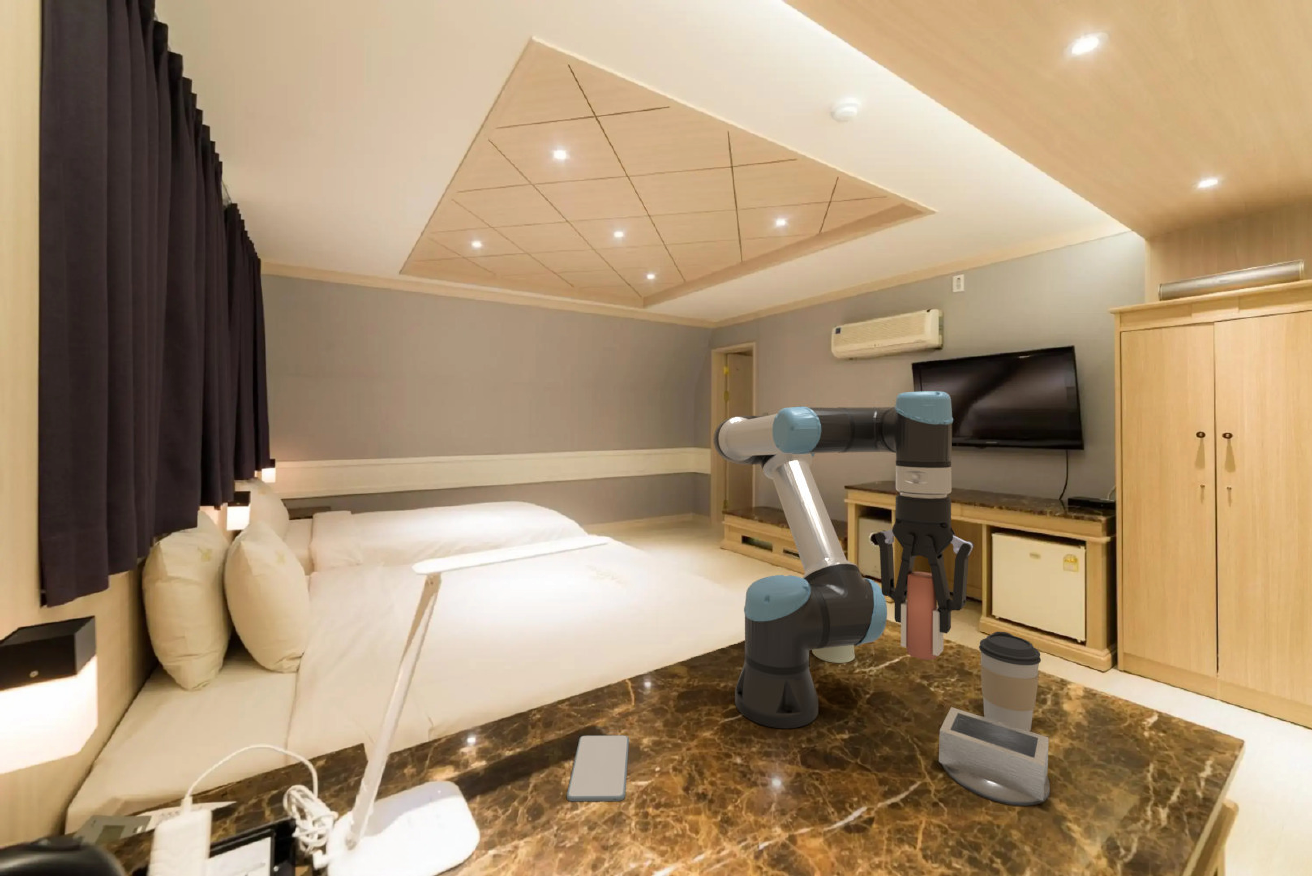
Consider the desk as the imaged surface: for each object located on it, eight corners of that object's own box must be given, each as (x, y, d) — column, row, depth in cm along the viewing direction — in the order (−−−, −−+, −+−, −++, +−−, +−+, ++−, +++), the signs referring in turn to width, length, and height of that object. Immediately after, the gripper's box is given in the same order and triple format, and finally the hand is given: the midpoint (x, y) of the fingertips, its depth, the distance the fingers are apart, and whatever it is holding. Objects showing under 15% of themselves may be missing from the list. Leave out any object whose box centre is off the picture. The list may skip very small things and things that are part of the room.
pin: (903, 654, 81) (903, 575, 80) (911, 646, 84) (912, 570, 83) (931, 662, 78) (932, 580, 78) (939, 653, 81) (940, 574, 81)
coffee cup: (1049, 741, 89) (1052, 652, 88) (989, 734, 91) (991, 648, 90) (1023, 711, 98) (1026, 630, 97) (969, 706, 100) (971, 627, 99)
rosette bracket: (930, 776, 80) (931, 737, 80) (950, 733, 91) (951, 699, 91) (1045, 821, 71) (1047, 778, 71) (1052, 768, 82) (1053, 730, 82)
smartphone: (629, 734, 90) (624, 796, 75) (629, 740, 90) (624, 803, 75) (579, 735, 90) (565, 797, 75) (579, 740, 90) (565, 804, 75)
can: (813, 660, 118) (814, 607, 117) (810, 643, 127) (811, 593, 126) (857, 665, 116) (858, 610, 115) (851, 647, 125) (852, 596, 124)
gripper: (857, 492, 83) (856, 640, 84) (981, 502, 72) (980, 674, 72) (875, 487, 89) (874, 627, 89) (993, 496, 77) (991, 656, 78)
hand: (921, 647), depth 81 cm, fingers closed on pin, 4 cm apart
